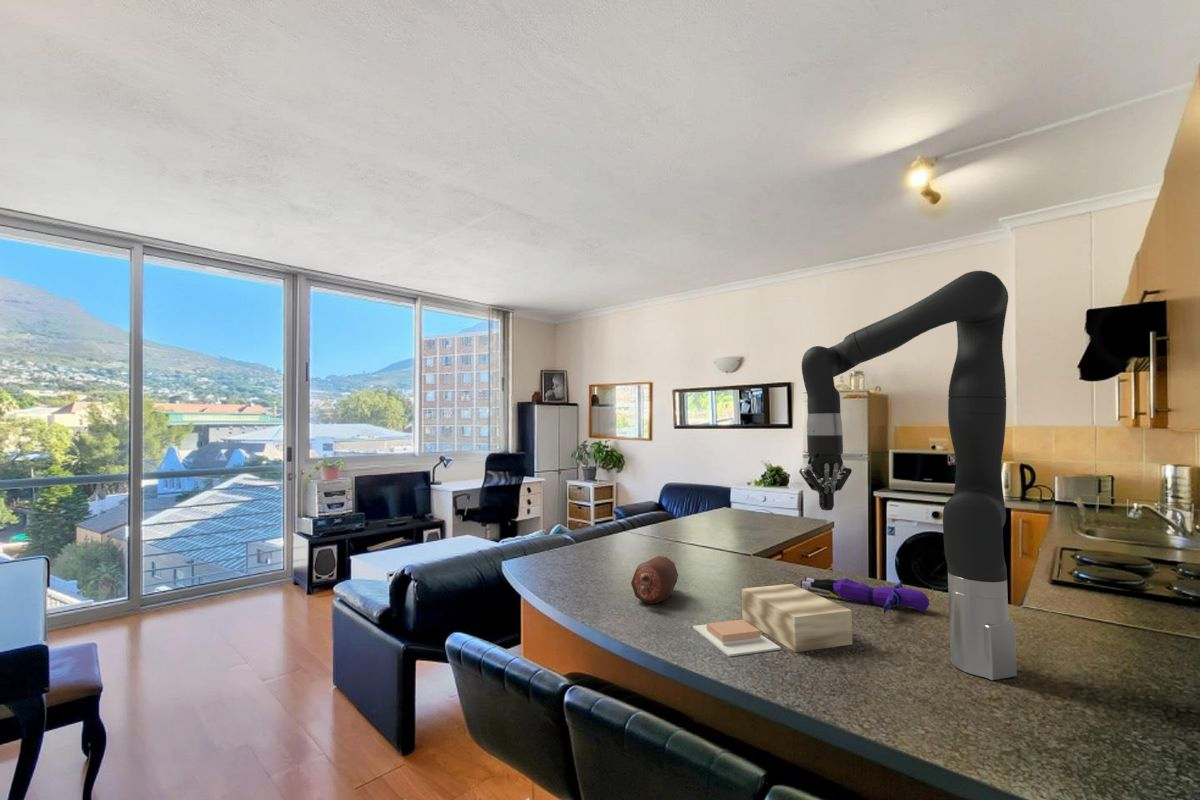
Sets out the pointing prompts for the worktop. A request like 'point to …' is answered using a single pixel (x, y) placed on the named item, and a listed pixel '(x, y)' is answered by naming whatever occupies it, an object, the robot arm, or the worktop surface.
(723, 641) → the tile
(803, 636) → the block
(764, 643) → the mat
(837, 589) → the toy
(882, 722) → the worktop surface
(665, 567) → the meat
